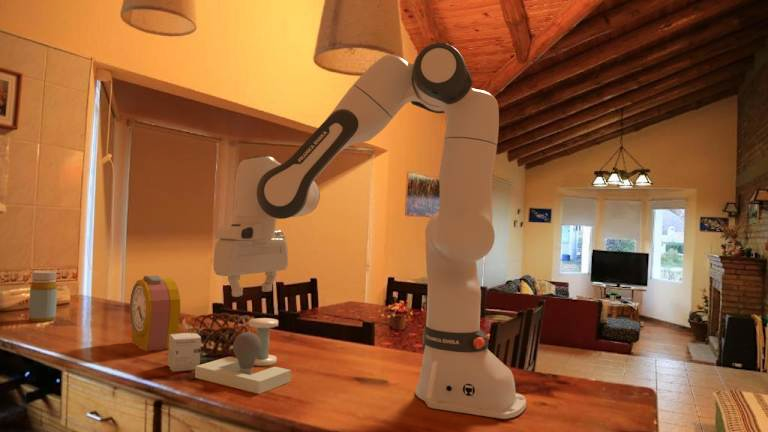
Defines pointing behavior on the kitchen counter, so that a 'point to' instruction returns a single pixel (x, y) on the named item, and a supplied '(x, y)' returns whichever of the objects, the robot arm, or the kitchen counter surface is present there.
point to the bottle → (43, 296)
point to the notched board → (242, 375)
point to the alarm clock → (154, 312)
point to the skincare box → (184, 351)
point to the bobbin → (264, 340)
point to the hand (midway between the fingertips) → (252, 293)
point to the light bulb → (246, 351)
